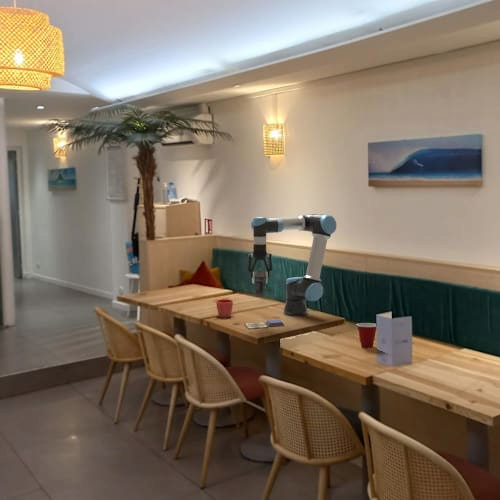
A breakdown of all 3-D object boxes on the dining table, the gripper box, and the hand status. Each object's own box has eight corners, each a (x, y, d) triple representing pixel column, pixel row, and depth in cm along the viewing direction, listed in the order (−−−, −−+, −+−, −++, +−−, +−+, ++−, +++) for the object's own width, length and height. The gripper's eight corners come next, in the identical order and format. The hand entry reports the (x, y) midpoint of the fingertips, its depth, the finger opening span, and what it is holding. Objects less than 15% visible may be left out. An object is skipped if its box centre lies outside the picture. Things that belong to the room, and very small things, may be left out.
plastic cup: (376, 344, 327) (376, 321, 326) (378, 349, 317) (379, 326, 315) (355, 343, 328) (355, 321, 327) (356, 349, 318) (357, 326, 316)
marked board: (264, 323, 377) (264, 322, 377) (268, 327, 365) (268, 326, 365) (244, 324, 375) (244, 323, 375) (248, 329, 363) (248, 328, 363)
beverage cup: (265, 295, 372) (265, 261, 370) (266, 297, 365) (266, 263, 363) (253, 295, 372) (253, 261, 370) (254, 297, 365) (253, 263, 362)
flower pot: (236, 315, 400) (236, 300, 399) (226, 318, 391) (226, 303, 390) (222, 313, 406) (222, 298, 405) (213, 316, 397) (212, 301, 396)
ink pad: (280, 322, 379) (280, 319, 378) (284, 325, 370) (284, 322, 370) (265, 323, 377) (265, 320, 377) (269, 326, 368) (269, 323, 368)
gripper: (275, 242, 371) (274, 281, 373) (241, 243, 367) (241, 282, 369) (278, 243, 364) (278, 283, 366) (244, 244, 359) (244, 284, 362)
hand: (259, 282), depth 368 cm, fingers closed on beverage cup, 7 cm apart
